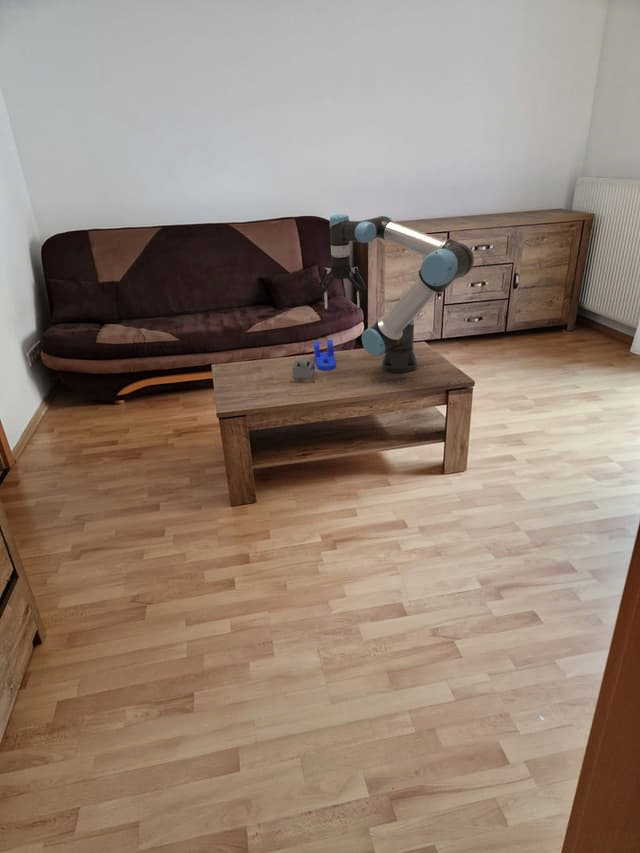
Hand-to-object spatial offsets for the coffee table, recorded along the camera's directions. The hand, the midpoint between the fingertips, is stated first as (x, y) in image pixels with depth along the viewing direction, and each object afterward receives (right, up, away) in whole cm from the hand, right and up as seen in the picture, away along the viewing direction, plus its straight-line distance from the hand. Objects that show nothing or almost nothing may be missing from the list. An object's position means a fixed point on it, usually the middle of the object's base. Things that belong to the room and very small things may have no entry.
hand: (342, 307), depth 238 cm
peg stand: (-16, -29, +3) cm, 34 cm away
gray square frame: (-16, -28, +2) cm, 33 cm away
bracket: (-7, -22, +18) cm, 29 cm away
